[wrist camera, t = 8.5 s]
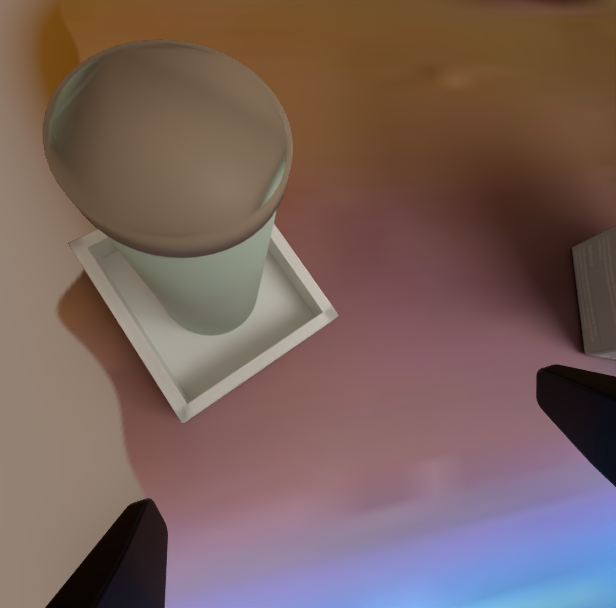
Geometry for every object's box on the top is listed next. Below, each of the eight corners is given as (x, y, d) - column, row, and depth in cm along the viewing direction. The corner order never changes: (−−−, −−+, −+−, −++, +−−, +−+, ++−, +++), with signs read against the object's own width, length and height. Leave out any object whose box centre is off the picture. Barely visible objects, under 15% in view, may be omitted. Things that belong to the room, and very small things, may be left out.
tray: (188, 420, 18) (182, 423, 16) (86, 260, 19) (68, 243, 16) (328, 323, 20) (338, 315, 18) (233, 188, 21) (233, 165, 19)
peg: (214, 357, 18) (177, 293, 7) (141, 293, 18) (-19, 122, 7) (277, 288, 20) (336, 142, 8) (210, 230, 20) (175, 5, 8)
